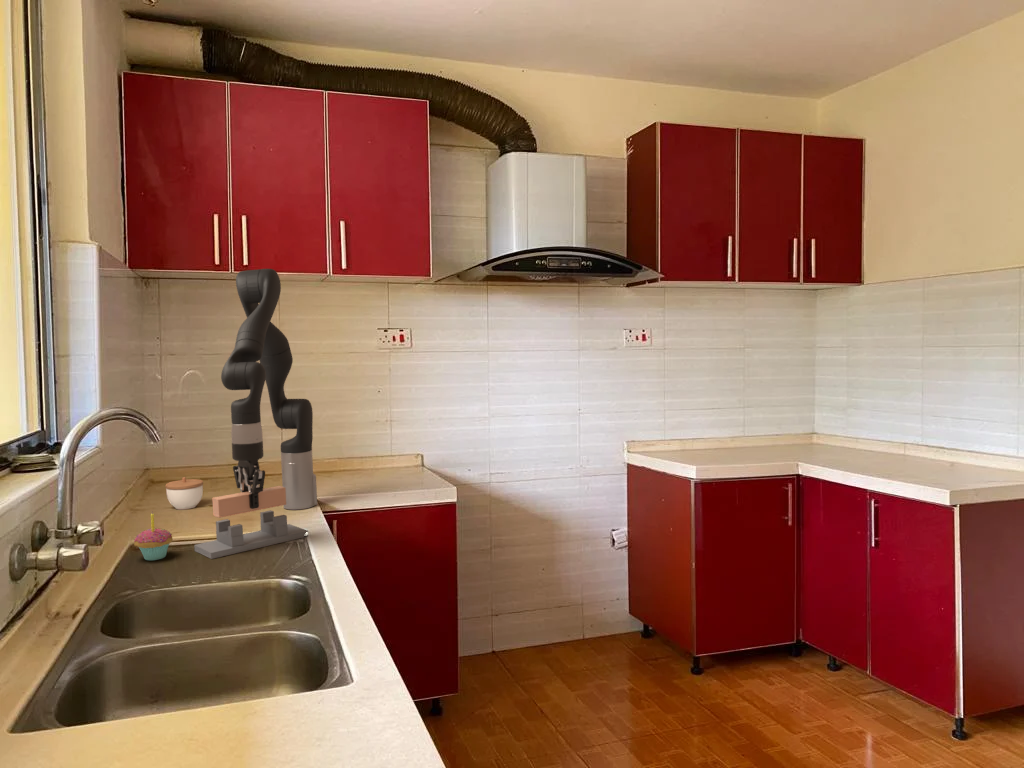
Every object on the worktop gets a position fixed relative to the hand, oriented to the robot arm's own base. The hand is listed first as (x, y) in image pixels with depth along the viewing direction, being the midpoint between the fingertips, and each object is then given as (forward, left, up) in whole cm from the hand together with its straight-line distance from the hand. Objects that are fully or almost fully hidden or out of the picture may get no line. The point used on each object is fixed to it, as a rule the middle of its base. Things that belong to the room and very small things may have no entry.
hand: (250, 506), depth 199 cm
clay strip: (0, 0, -1) cm, 1 cm away
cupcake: (+22, -7, -10) cm, 25 cm away
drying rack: (0, 0, -10) cm, 10 cm away
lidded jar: (-4, -54, -10) cm, 55 cm away
